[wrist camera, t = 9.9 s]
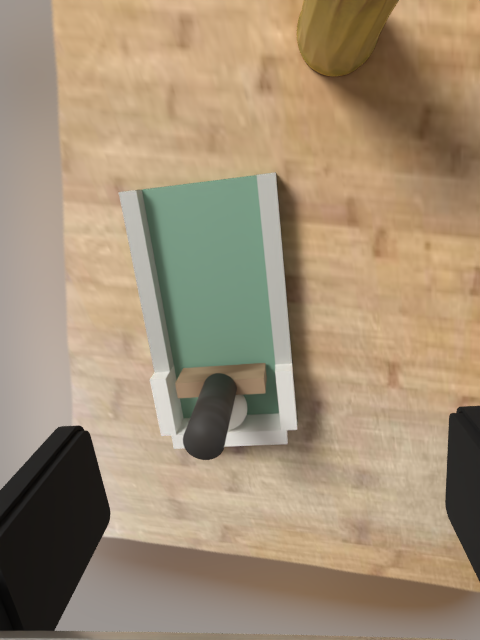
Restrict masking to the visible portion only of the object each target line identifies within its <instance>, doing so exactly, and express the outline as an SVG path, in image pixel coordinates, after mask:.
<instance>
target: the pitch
mask: <svg viewBox="0 0 480 640" xmlns="http://www.w3.org/2000/svg"><path fill="white" fill-rule="evenodd" d="M119 196H120V201H121V206H122V211H123V216H124V221H125V226H126V231H127V236H128V241H129V246H130V251H131V256H132V261H133V266H134V271H135V277H136V282H137V287H138V292H139V297H140V302H141V307H142V312H143V317H144V322H145V327H146V332H147V337H148V342H149V347H150V352H151V357H152V362H153V367H154V372H155V373H154V374H153V376H152V377H151V379H150V383H151V388H152V393H153V398H154V403H155V407H156V412H157V417H158V422H159V427H160V432H161V436H169V435H171V436H172V441H173V446H174V449H178V448H185V447H184V445H183V436H184V433H185V430H186V428H187V425H188V423H189V420H190V417H191V415H192V412H193V410H194V407H195V405H196V402H197V400H198V397H192V398H178V397H177V391H176V386H175V383H176V381H177V379H178V377H179V375H180V373H181V371H182V369H183V368H194V367H209V366H224V365H239V364H254V363H265V365H266V374H267V381H266V393H263V394H245V395H243V396H244V397H245V399H246V402H247V408H248V409H247V415H246V417H245V419H244V421H243V422H242V423H241V424H240V425H239V426H238V427H236V428H234V429H230V430H228V432H227V436H226V441H225V446H224V447H227V446H252V445H277V444H288V430H297V412H296V401H295V389H294V377H293V366H292V354H291V342H290V330H289V319H288V307H287V295H286V284H285V272H284V260H283V248H282V237H281V225H280V213H279V202H278V190H277V178H276V173H268V174H260V175H254V176H246V177H239V178H231V179H223V180H215V181H207V182H199V183H191V184H183V185H175V186H167V187H159V188H151V189H143V190H133V191H125V192H119Z"/></svg>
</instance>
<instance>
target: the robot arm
mask: <svg viewBox="0 0 480 640" xmlns="http://www.w3.org/2000/svg"><path fill="white" fill-rule="evenodd" d="M445 502H446V510H447V514H448V517H449V520H450V522H451V524H452V526H453V528H454V530H455V532H456V534H457V536H458V538H459V540H460V542H461V544H462V546H463V548H464V550H465V553H466V555H467V557H468V559H469V561H470V563H471V565H472V567H473V569H474V571H475V573H476V575H477V577H478V579H479V581H480V406H466V407H459V408H458V409H457V412H456V413H451V414H450V416H449V433H448V456H447V478H446V501H445ZM109 520H110V507H109V504H108V500H107V496H106V492H105V489H104V485H103V481H102V477H101V474H100V470H99V466H98V462H97V458H96V455H95V451H94V447H93V443H92V440H91V436H90V433H89V432H88V431H84V429H83V427H81V426H62V427H58V428H57V429H56V430H55V431H54V432H53V433H52V434H51V435H50V436H49V437H48V439H47V440H46V441H45V442H44V443H43V444H42V445H41V446H40V448H38V450H37V451H36V452H35V453H34V454H33V455H32V456H31V457H30V458H29V460H28V461H27V462H26V463H25V464H24V465H23V466H22V467H21V468H20V469H19V471H18V472H17V473H16V474H15V475H14V476H13V477H12V478H11V479H10V480H9V481H8V483H7V484H6V485H5V486H4V487H3V488H2V489H1V490H0V640H453V639H430V638H393V637H392V638H391V637H353V636H316V635H273V634H272V635H271V634H270V635H269V634H223V633H221V634H220V633H168V632H167V633H166V632H165V633H164V632H100V631H98V632H97V631H95V632H94V631H54V630H55V628H56V626H57V624H58V622H59V620H60V618H61V616H62V614H63V612H64V610H65V608H66V606H67V604H68V603H69V601H70V598H71V597H72V594H73V593H74V591H75V589H76V587H77V585H78V583H79V581H80V579H81V577H82V575H83V573H84V571H85V569H86V567H87V565H88V563H89V561H90V559H91V557H92V555H93V553H94V551H95V549H96V547H97V545H98V543H99V542H100V539H101V538H102V536H103V534H104V532H105V530H106V528H107V526H108V523H109Z"/></svg>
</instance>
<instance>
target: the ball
mask: <svg viewBox="0 0 480 640" xmlns="http://www.w3.org/2000/svg"><path fill="white" fill-rule="evenodd" d="M247 409H248V408H247V402H246V399H245V397H244V396H243V395H236V396H235V400H234V405H233V409H232V414H231V418H230V423H229V427H228V430H230V429H234V428H236V427H238V426H239V425H240V424H241V423H242V422H243V421H244V419H245V417H246V415H247Z"/></svg>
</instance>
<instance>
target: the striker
mask: <svg viewBox="0 0 480 640" xmlns="http://www.w3.org/2000/svg"><path fill="white" fill-rule="evenodd" d="M266 381H267V374H266V365H265V363H254V364H239V365H224V366H209V367H194V368H183V369H182V371H181V373H180V375H179V377H178V379H177V381H176V383H175V386H176V391H177V397H178V398H192V397H198V400H197V402H196V405H195V407H194V410H193V412H192V415H191V417H190V420H189V423H188V425H187V428H186V430H185V433H184V436H183V445H184V447H185V449H186V450H187V452H188V453H189V454H190V455H192V456H193V457H195V458H198V459H202V460H210V459H213V458H216V457H217V456H219V455H220V454H221V453H222V451H223V449H224V446H225V441H226V436H227V432H228V427H229V423H230V418H231V414H232V409H233V405H234V400H235V396H236V395H245V394H263V393H266Z"/></svg>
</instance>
